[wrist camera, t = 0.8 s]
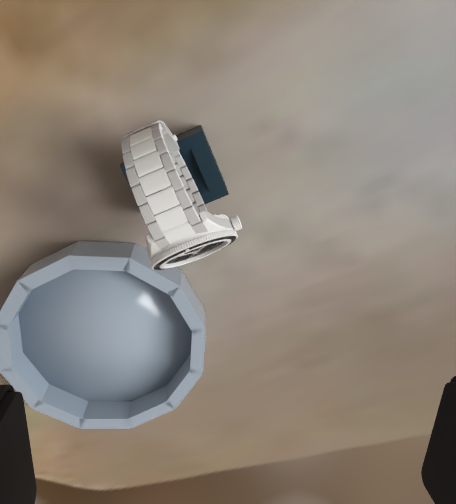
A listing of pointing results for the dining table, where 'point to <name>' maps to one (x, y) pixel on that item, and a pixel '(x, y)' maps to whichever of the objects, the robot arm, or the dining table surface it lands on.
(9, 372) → the dish
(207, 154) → the watch
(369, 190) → the dining table surface
